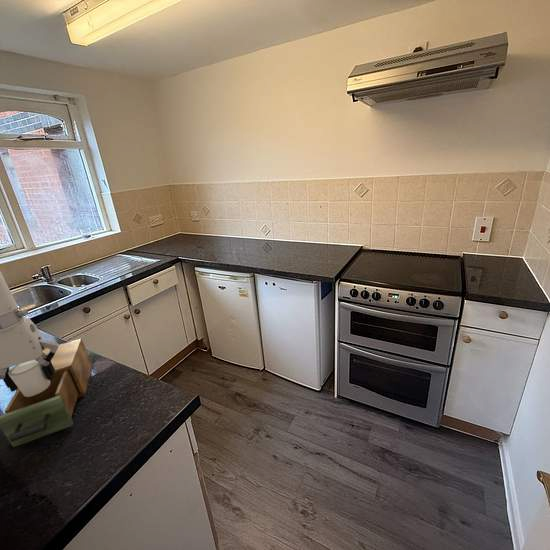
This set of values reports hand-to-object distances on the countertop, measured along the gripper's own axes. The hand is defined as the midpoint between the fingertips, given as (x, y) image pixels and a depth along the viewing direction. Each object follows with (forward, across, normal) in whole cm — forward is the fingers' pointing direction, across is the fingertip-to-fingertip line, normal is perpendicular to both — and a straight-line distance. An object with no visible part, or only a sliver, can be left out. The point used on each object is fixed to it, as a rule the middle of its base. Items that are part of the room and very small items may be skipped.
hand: (33, 381), depth 74 cm
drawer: (+11, 0, +2) cm, 11 cm away
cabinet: (+12, 0, -13) cm, 18 cm away
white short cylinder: (+2, 0, 0) cm, 2 cm away
